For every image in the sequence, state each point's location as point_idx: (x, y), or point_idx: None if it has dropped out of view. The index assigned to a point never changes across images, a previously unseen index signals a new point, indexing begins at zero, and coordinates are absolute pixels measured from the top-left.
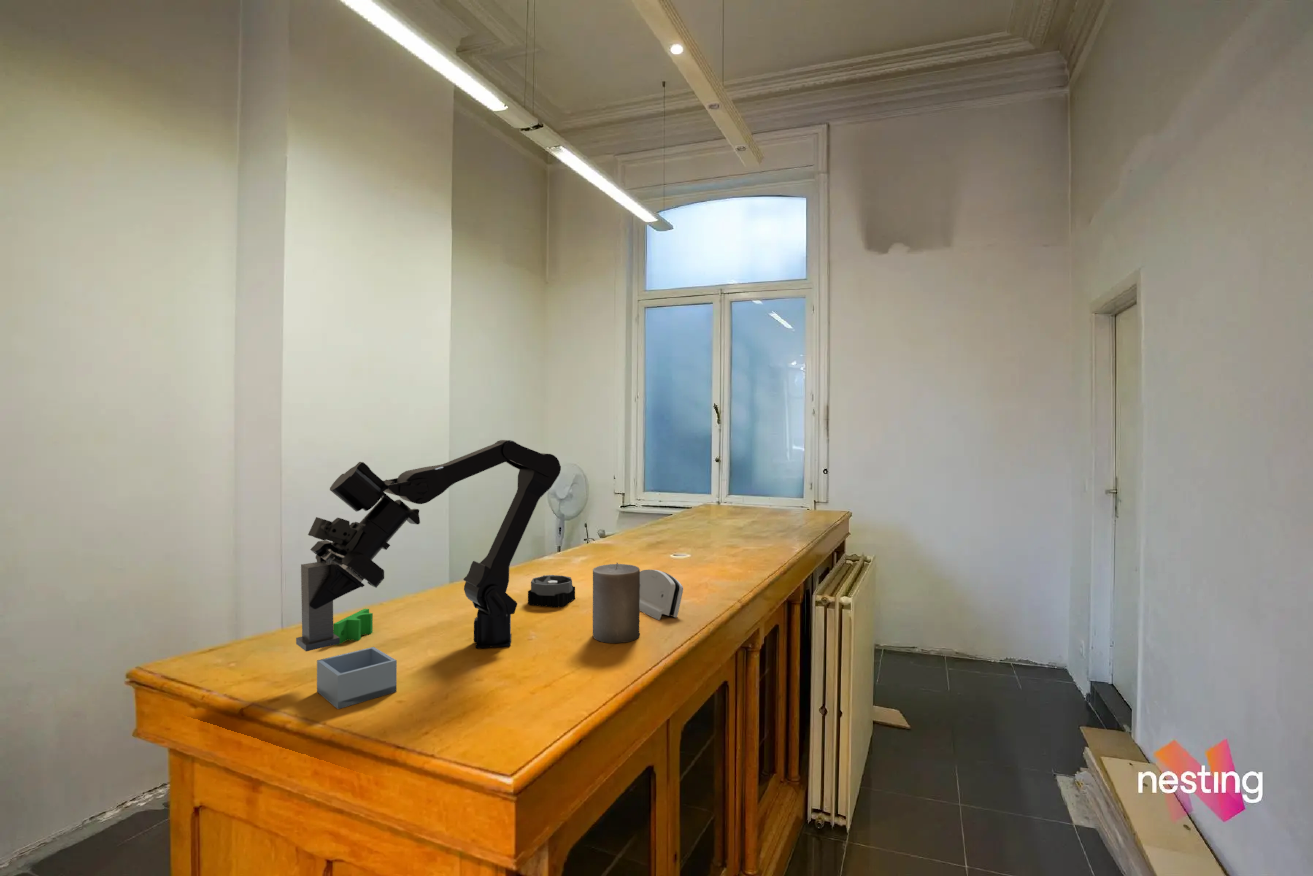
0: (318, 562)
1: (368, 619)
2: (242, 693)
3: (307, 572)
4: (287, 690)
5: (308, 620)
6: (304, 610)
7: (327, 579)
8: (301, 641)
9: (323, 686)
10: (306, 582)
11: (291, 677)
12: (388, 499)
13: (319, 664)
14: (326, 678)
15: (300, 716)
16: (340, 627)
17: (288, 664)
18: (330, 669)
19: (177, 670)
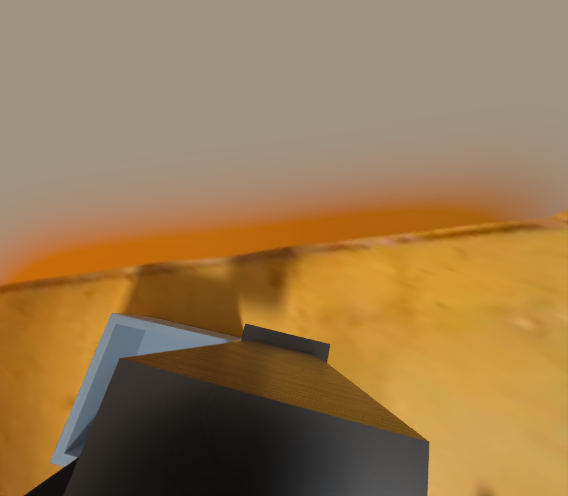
0: None
1: None
2: (347, 264)
3: (179, 361)
4: (297, 312)
5: (247, 341)
6: (292, 355)
7: None
8: (285, 334)
9: (207, 331)
10: (236, 358)
11: (355, 351)
12: None
13: (218, 337)
14: (184, 327)
15: (182, 270)
16: None
17: (438, 391)
18: (155, 324)
19: (555, 250)
